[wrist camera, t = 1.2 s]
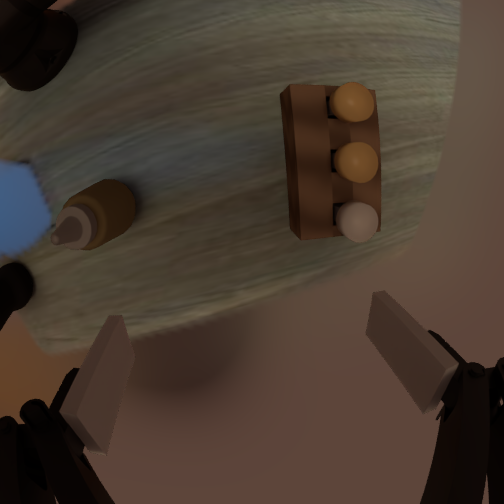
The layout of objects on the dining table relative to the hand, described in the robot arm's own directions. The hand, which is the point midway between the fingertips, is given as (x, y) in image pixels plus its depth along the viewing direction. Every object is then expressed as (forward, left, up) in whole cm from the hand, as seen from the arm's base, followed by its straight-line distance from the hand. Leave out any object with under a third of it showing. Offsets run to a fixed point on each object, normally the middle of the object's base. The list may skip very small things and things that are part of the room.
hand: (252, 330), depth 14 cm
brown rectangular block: (-7, +15, -28) cm, 33 cm away
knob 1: (-14, +15, -25) cm, 32 cm away
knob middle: (-7, +15, -25) cm, 30 cm away
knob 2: (0, +15, -25) cm, 29 cm away
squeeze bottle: (-4, -16, -28) cm, 33 cm away
